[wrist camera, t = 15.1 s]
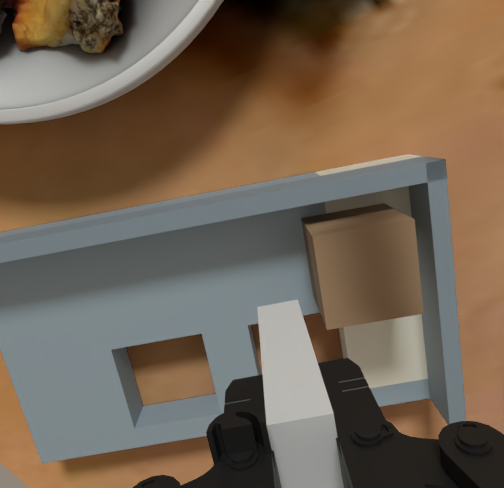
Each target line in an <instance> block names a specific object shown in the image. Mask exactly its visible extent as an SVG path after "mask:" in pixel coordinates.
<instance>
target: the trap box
mask: <svg viewBox="0 0 504 488" xmlns="http://www.w3.org/2000/svg"><path fill="white" fill-rule="evenodd" d="M382 203H385V204H386V205H388V206H390V207H392V208H394V209H396V210H398V211H400V212H402V213H404V214H405V215H407V216H409V217H411V218H413V219H415V228H416V239H417V250H418V260H419V271H420V282H421V293H422V304H423V314H419V315H413V316H407V317H401V318H395V319H389V320H383V321H378V322H372V323H366V324H360V325H354V326H348V327H342V328H339V334H340V341H341V347H342V354H343V359H345V358H349V359H350V360H352V361H353V362H354V363H356V364H357V365H359V367H360V369H361V371H362V373H363V375H364V378H365V379H366V381H367V383H368V385H369V387H370V389H371V391H372V393H373V395H374V397H375V400H376V402H377V404H378V406H379V407H381V406H387V405H393V404H399V403H405V402H411V401H417V400H422V399H428V398H430V399H431V400H432V402H433V403H434V405H435V406H436V408H437V409H438V411H439V412H440V413H441V415H442V416H443V418H444V419H445V421H446V422H447V424H448V425H449V424H451V423H455V422H460V421H466V411H465V398H464V386H463V373H462V361H461V348H460V336H459V323H458V311H457V298H456V286H455V273H454V261H453V248H452V236H451V223H450V211H449V198H448V186H447V173H446V160H445V159H439V158H431V157H424V156H417V155H410V154H407V155H401V156H396V157H391V158H386V159H381V160H375V161H370V162H365V163H360V164H354V165H349V166H344V167H339V168H334V169H328V170H323V171H318V172H313V173H308V174H302V175H297V176H292V177H287V178H281V179H276V180H271V181H266V182H261V183H255V184H250V185H245V186H240V187H235V188H229V189H224V190H219V191H214V192H208V193H203V194H198V195H193V196H188V197H182V198H177V199H172V200H167V201H162V202H156V203H151V204H146V205H141V206H135V207H130V208H125V209H120V210H115V211H109V212H104V213H99V214H94V215H88V216H83V217H78V218H73V219H68V220H62V221H57V222H52V223H47V224H42V225H36V226H31V227H26V228H21V229H15V230H10V231H5V232H0V350H1V353H2V355H3V358H4V361H5V364H6V366H7V369H8V372H9V375H10V377H11V380H12V383H13V385H14V388H15V391H16V394H17V396H18V399H19V402H20V405H21V407H22V410H23V413H24V415H25V418H26V421H27V424H28V426H29V429H30V432H31V435H32V437H33V440H34V443H35V446H36V448H37V451H38V454H39V456H40V459H41V462H42V463H48V462H54V461H60V460H66V459H72V458H78V457H84V456H90V455H96V454H101V453H107V452H113V451H119V450H125V449H131V448H137V447H143V446H149V445H155V444H161V443H167V442H173V441H179V440H185V439H191V438H197V437H203V436H207V434H206V431H207V429H208V426H209V424H210V423H211V422H212V421H213V420H214V419H215V418H216V417H217V416H219V415H221V414H222V413H224V405H225V391H226V389H227V388H228V386H229V385H230V383H231V382H232V380H235V379H240V378H246V377H251V376H257V375H261V371H260V367H259V362H258V357H257V352H256V347H255V343H254V338H253V333H252V328H251V325H253V324H258V310H257V307H260V306H266V305H271V304H276V303H282V302H287V301H293V300H298V302H299V305H300V308H301V312H302V315H309V314H315V313H320V312H319V309H318V306H317V304H316V301H315V299H314V296H313V291H312V285H311V278H310V272H309V266H308V259H307V253H306V247H305V240H304V234H303V228H302V221H301V218H305V217H310V216H316V215H321V214H327V213H332V212H338V211H343V210H349V209H355V208H360V207H366V206H371V205H377V204H382ZM197 334H202V337H203V341H204V345H205V350H206V354H207V358H208V362H209V366H210V371H211V375H212V379H213V383H214V387H215V392H216V394H211V395H206V396H200V397H194V398H188V399H182V400H177V401H171V402H165V403H159V404H153V405H148V406H143V404H142V401H141V397H140V394H139V390H138V387H137V383H136V380H135V376H134V373H133V369H132V366H131V362H130V359H129V356H128V352H127V349H126V347H129V346H135V345H141V344H146V343H152V342H157V341H163V340H169V339H174V338H180V337H185V336H191V335H197Z"/></svg>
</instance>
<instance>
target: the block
mask: <svg viewBox="0 0 504 488" xmlns="http://www.w3.org/2000/svg"><path fill="white" fill-rule="evenodd" d="M301 221H302V228H303V234H304V240H305V247H306V253H307V259H308V266H309V272H310V278H311V285H312V291H313V296H314V299H315V301H316V304H317V306H318V309H319V312H320V314H321V317H322V319H323V322H324V324H325V327H326V330H330V329H336V328H342V327H348V326H354V325H360V324H366V323H372V322H378V321H383V320H389V319H395V318H401V317H407V316H413V315H419V314H423V304H422V293H421V282H420V271H419V260H418V250H417V239H416V228H415V219H413V218H411V217H409V216H407V215H405V214H404V213H402V212H400V211H398V210H396V209H394V208H392V207H390V206H388V205H386V204H385V203H382V204H377V205H371V206H366V207H360V208H355V209H349V210H343V211H338V212H332V213H327V214H321V215H316V216H310V217H305V218H301Z"/></svg>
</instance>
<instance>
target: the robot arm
mask: <svg viewBox="0 0 504 488" xmlns="http://www.w3.org/2000/svg"><path fill="white" fill-rule="evenodd" d="M257 310H258V323H259V336H260V349H261V362H262V375H257V376H251V377H246V378H240V379H235V380H232V382H231V383H230V385H229V386H228V388H227V389H226V391H225V405H224V413H222V414H221V415H219V416H217V417H216V418H215V419H214V420H213V421H212V422H211V423H210V424H209V426H208V429H207V431H206V434H207V438H208V442H209V446H210V450H211V454H212V458H213V462H214V466H213V467H212V468H211V469H210V470H209V471H208V472H206V473H205V474H204V475H202V476H200V477H199V478H197V479H195V480H193V481H190V482H188V483H186V484H184V485H181V486H180V483H179V482H178V481H177V480H176V479H175V478H174V477H171V476H166V475H160V476H153V477H150V478H148V479H146V480H143V481H141V482H140V483H138V484H137V485H136V486H134V487H133V488H504V435H503V434H502V433H501V432H499V431H497V430H496V429H494V428H492V427H491V426H489V425H486V424H482V423H479V422H474V421H460V422H455V423H451V424H449V425H447V426H446V427H444V428H443V429H442V430H441V432H440V434H439V435H438V437H439V440H437V439H422V438H415V437H410V436H407V435H404V434H401V433H400V432H398V430H397V429H396V428H395V427H394V426H393V424H392V423H390V422H388V421H386V420H385V418H384V416H383V414H382V412H381V410H380V408H379V406H378V404H377V402H376V400H375V397H374V395H373V393H372V391H371V389H370V387H369V385H368V383H367V381H366V379H365V378H364V375H363V373H362V371H361V369H360V367H359V365H357V364H356V363H354V362H353V361H352V360H350V359H349V358H345V359H339V360H333V361H328V362H322V363H318V362H317V359H316V356H315V353H314V350H313V347H312V343H311V340H310V337H309V334H308V331H307V328H306V324H305V321H304V318H303V315H302V312H301V308H300V305H299V302H298V300H293V301H287V302H282V303H276V304H271V305H266V306H260V307H257Z"/></svg>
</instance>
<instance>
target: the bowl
mask: <svg viewBox="0 0 504 488" xmlns="http://www.w3.org/2000/svg"><path fill="white" fill-rule="evenodd" d="M222 2H223V0H0V124H21V123H34V122H40V121H47V120H53V119H58V118H62V117H67V116H70V115H74V114H77V113H81V112H84V111H87V110H90V109H92V108H95V107H98V106H100V105H103V104H105V103H107V102H110V101H112V100H114V99H116V98H118V97H120V96H122V95H124V94H126V93H127V92H129V91H131V90H133V89H135V88H136V87H138V86H139V85H141V84H142V83H144V82H146V81H147V80H149V79H150V78H151V77H153V76H154V75H155V74H157V73H158V72H159V71H161V70H162V69H163V68H164V67H166V66H167V65H168V64H169V63H170V62H171V61H173V60H174V59H175V58H176V57H177V56H178V55H179V54H180V53H181V52H182V51H183V50H184V49H185V48H186V47H187V46H188V45H189V44H190V43H191V42H192V41H193V40H194V39H195V38H196V36H197V35H198V34H199V33H200V32H201V31H202V30H203V28H204V27H205V26H206V24H207V23H208V22H209V20H210V19H211V18H212V17H213V15H214V14H215V12H216V11H217V9H218V8H219V6H220V5H221V3H222Z"/></svg>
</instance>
